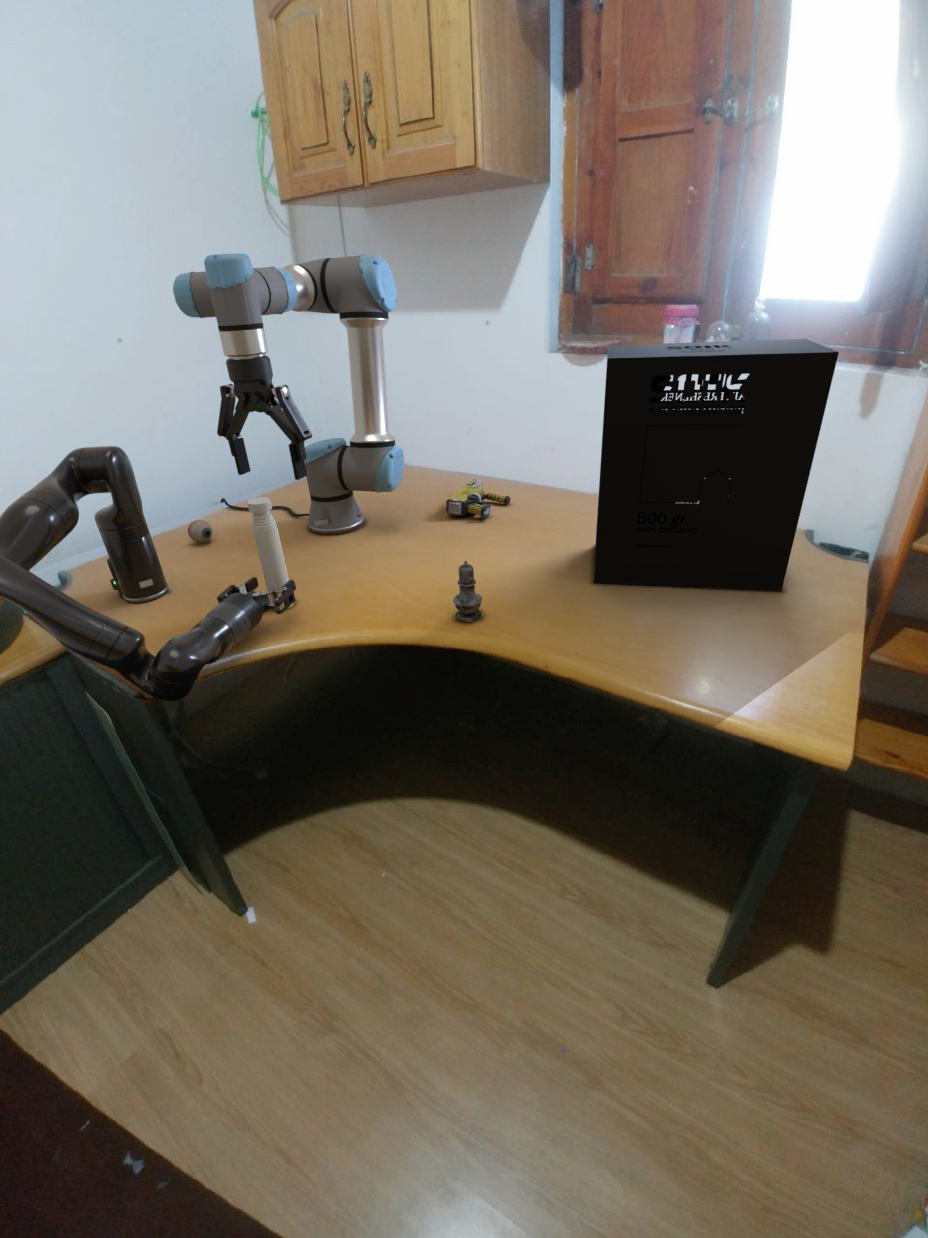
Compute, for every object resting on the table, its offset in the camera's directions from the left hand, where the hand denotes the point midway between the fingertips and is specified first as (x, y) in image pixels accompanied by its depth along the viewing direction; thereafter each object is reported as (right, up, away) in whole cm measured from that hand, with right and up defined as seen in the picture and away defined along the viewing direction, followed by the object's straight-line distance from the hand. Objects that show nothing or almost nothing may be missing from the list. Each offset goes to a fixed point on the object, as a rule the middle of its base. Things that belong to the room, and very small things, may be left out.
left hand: (274, 582), depth 125 cm
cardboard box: (+88, +4, +10) cm, 89 cm away
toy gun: (+45, +25, +51) cm, 73 cm away
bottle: (0, -5, +4) cm, 6 cm away
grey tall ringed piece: (+40, -7, -4) cm, 41 cm away
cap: (-1, +15, -7) cm, 17 cm away
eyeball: (-31, +13, +38) cm, 51 cm away
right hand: (+2, +20, -9) cm, 22 cm away
